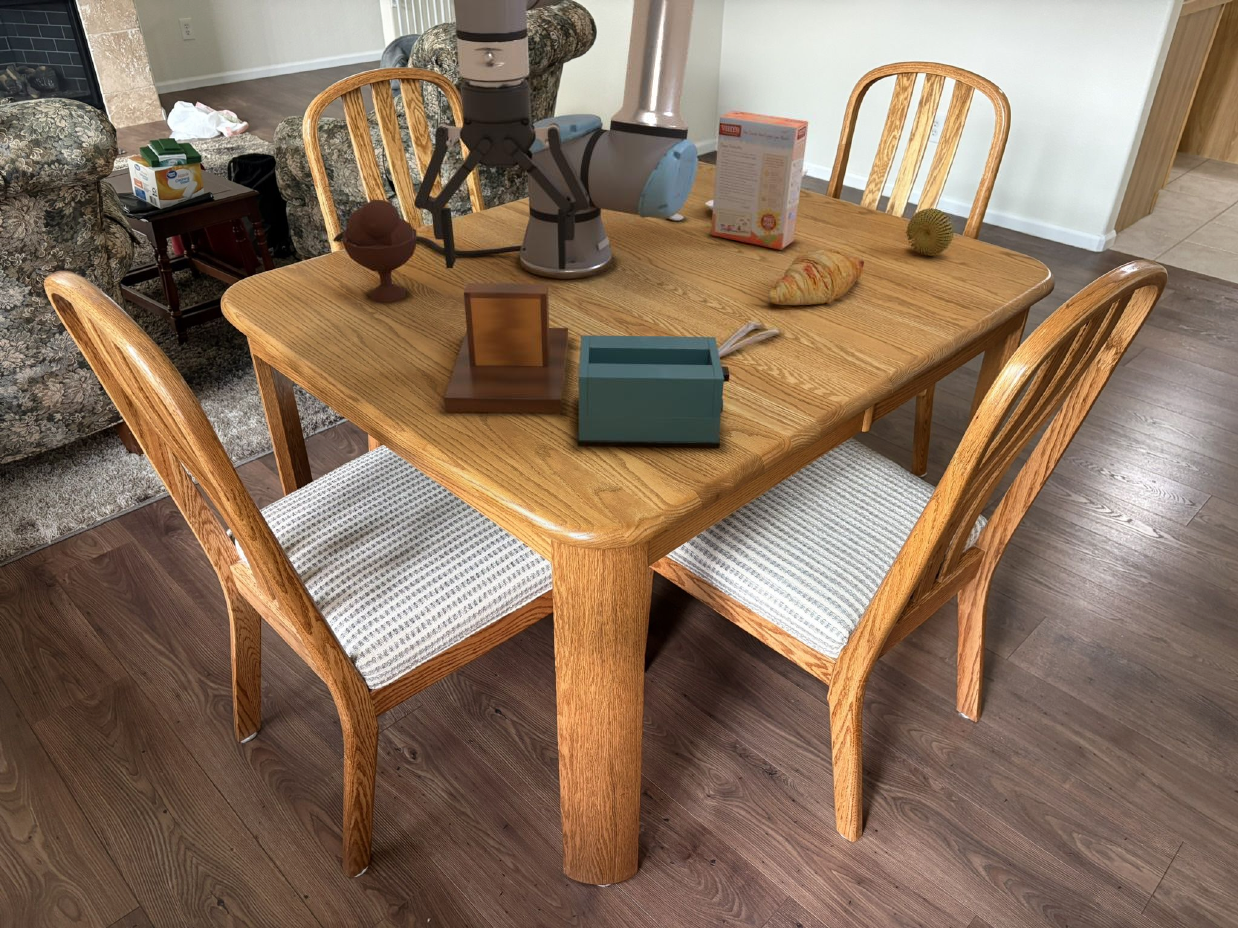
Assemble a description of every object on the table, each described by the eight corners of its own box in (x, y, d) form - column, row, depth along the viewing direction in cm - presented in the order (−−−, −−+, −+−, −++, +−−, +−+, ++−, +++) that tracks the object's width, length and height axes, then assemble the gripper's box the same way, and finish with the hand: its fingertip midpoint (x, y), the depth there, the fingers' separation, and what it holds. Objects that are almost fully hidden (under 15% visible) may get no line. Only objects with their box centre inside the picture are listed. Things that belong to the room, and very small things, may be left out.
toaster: (577, 446, 104) (576, 377, 99) (580, 400, 113) (579, 334, 108) (728, 448, 104) (735, 379, 99) (719, 401, 113) (725, 336, 108)
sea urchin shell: (951, 257, 156) (962, 212, 152) (941, 263, 154) (952, 217, 149) (909, 246, 160) (918, 201, 156) (898, 251, 158) (907, 206, 154)
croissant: (781, 336, 137) (805, 300, 130) (740, 288, 140) (762, 252, 133) (867, 298, 148) (894, 264, 142) (828, 255, 151) (853, 220, 144)
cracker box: (794, 242, 161) (810, 120, 150) (781, 252, 157) (796, 127, 145) (724, 226, 167) (734, 108, 156) (709, 236, 163) (718, 115, 152)
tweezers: (754, 326, 131) (755, 314, 130) (781, 337, 129) (782, 324, 128) (676, 373, 121) (677, 360, 120) (704, 386, 119) (704, 373, 118)
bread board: (560, 413, 110) (560, 399, 109) (445, 412, 110) (444, 397, 109) (569, 328, 130) (569, 315, 129) (472, 327, 130) (471, 314, 129)
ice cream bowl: (437, 288, 141) (428, 193, 133) (394, 315, 133) (380, 214, 124) (382, 276, 145) (369, 182, 136) (336, 301, 136) (319, 203, 128)
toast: (469, 365, 116) (463, 292, 110) (472, 354, 118) (466, 282, 113) (548, 366, 116) (546, 293, 110) (550, 355, 118) (547, 283, 113)
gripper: (372, 86, 95) (398, 276, 107) (609, 88, 95) (608, 277, 107) (387, 71, 101) (410, 252, 113) (609, 73, 101) (609, 253, 113)
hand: (506, 265), depth 110 cm, fingers open, 13 cm apart
